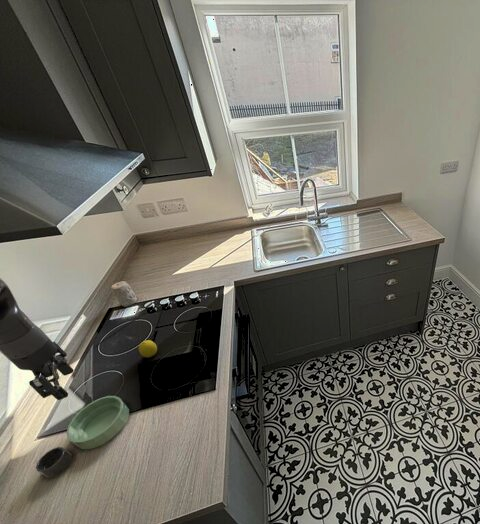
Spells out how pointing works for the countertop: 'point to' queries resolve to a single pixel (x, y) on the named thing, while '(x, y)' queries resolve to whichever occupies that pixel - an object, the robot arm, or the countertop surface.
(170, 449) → the countertop surface
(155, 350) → the lemon
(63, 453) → the small bowl
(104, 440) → the big bowl
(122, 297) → the carving
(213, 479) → the countertop surface
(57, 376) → the robot arm
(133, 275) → the countertop surface
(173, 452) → the countertop surface
